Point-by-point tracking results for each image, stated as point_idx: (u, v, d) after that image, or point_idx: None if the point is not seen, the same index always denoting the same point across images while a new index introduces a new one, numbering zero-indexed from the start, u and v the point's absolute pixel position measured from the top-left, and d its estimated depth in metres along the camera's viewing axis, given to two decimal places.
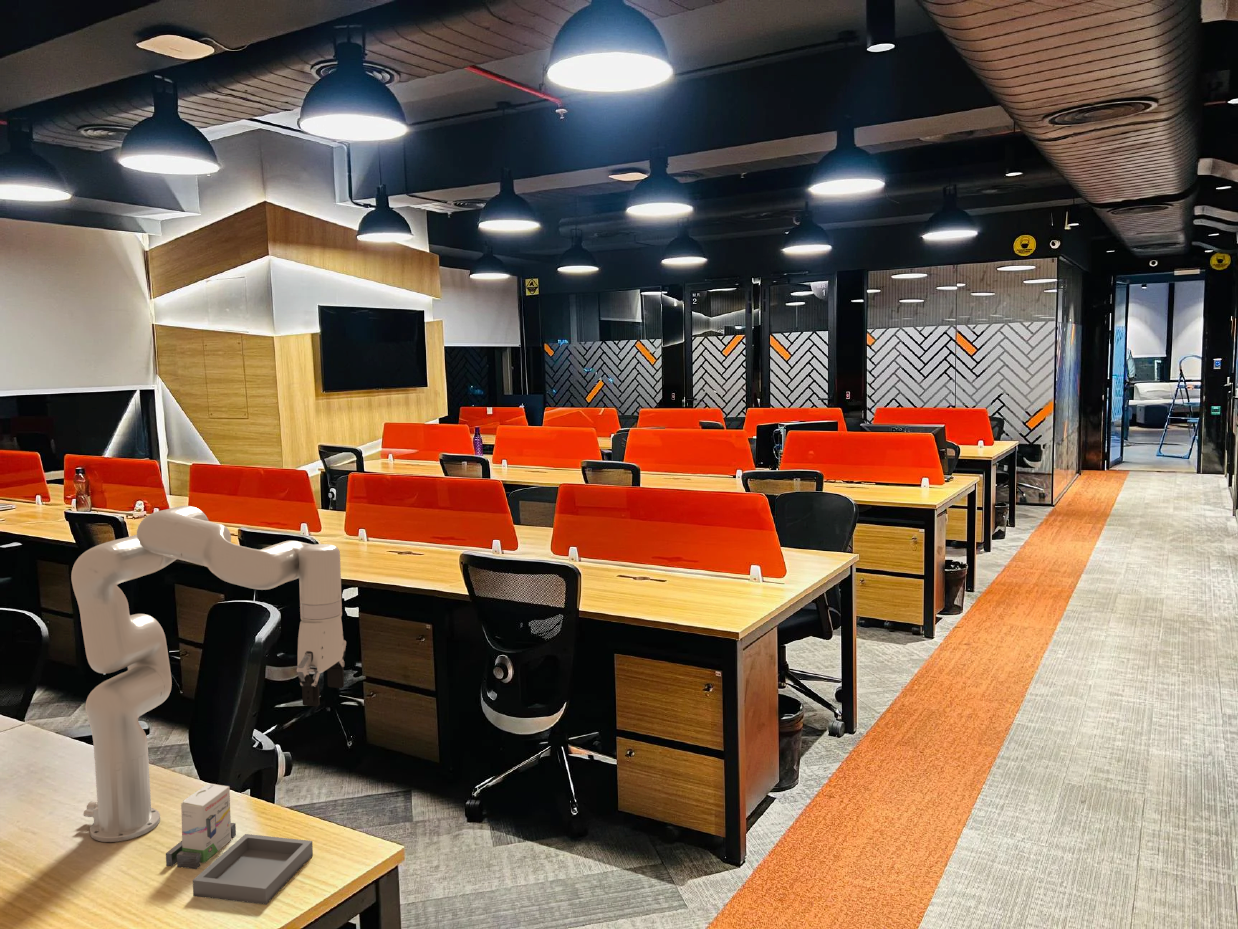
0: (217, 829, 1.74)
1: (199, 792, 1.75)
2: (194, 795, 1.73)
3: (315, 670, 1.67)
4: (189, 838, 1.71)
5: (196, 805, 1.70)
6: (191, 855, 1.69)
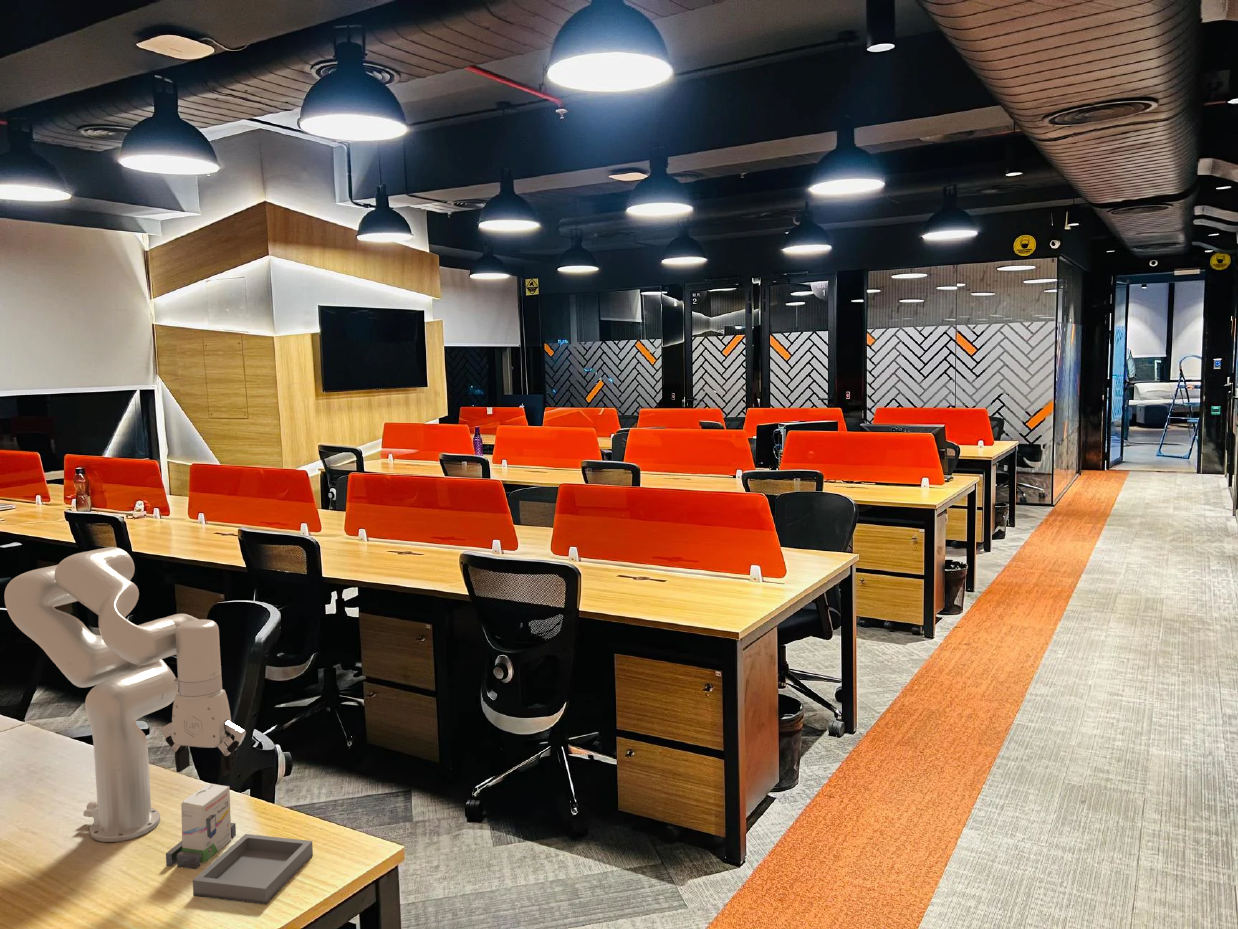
0: (217, 829, 1.74)
1: (199, 792, 1.75)
2: (194, 795, 1.73)
3: (227, 737, 1.73)
4: (189, 838, 1.71)
5: (196, 805, 1.70)
6: (191, 855, 1.69)
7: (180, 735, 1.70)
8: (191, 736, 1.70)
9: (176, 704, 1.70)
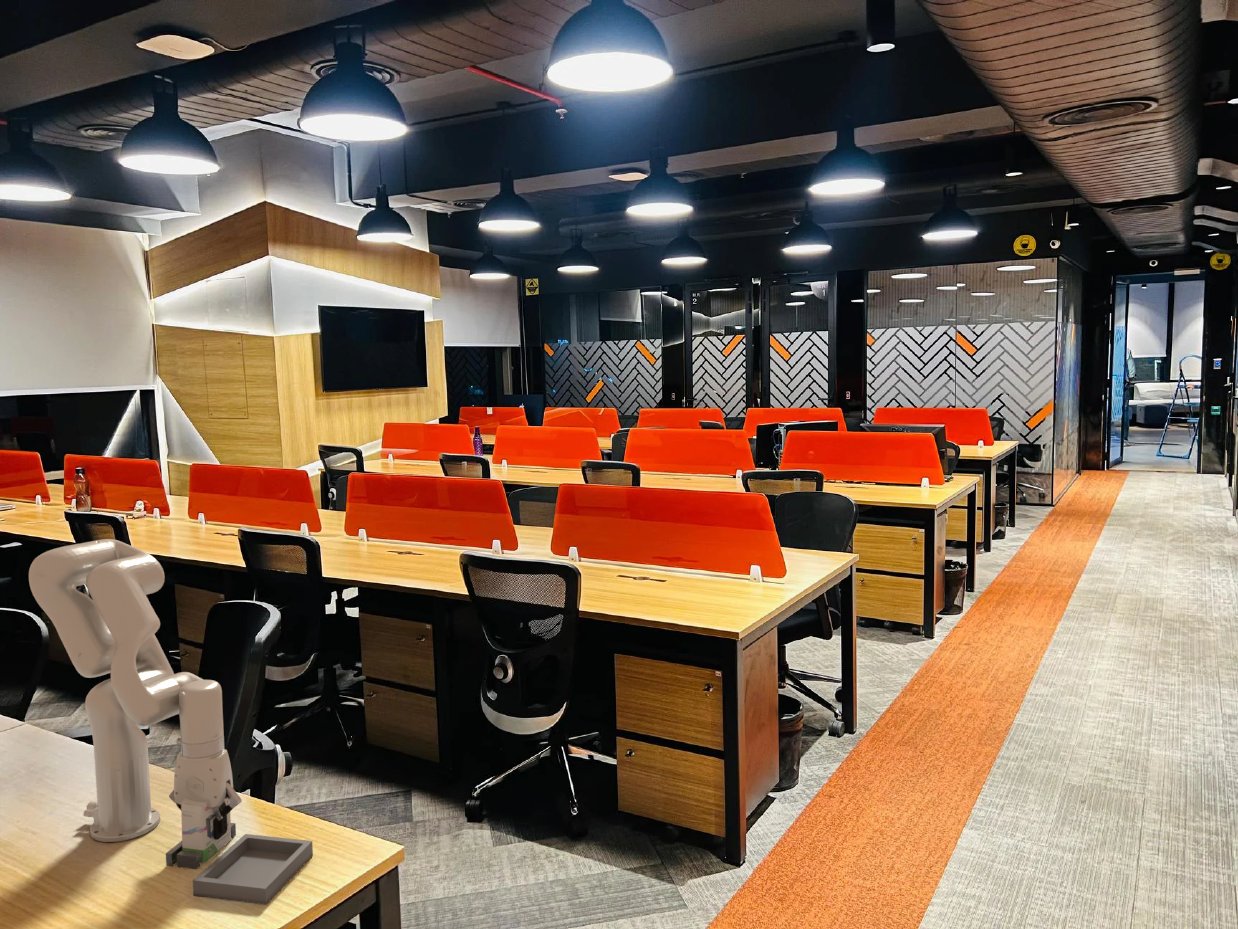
0: None
1: None
2: None
3: (224, 800, 1.74)
4: (189, 838, 1.71)
5: (196, 805, 1.70)
6: (191, 855, 1.69)
7: (182, 795, 1.72)
8: (192, 796, 1.71)
9: (178, 764, 1.71)
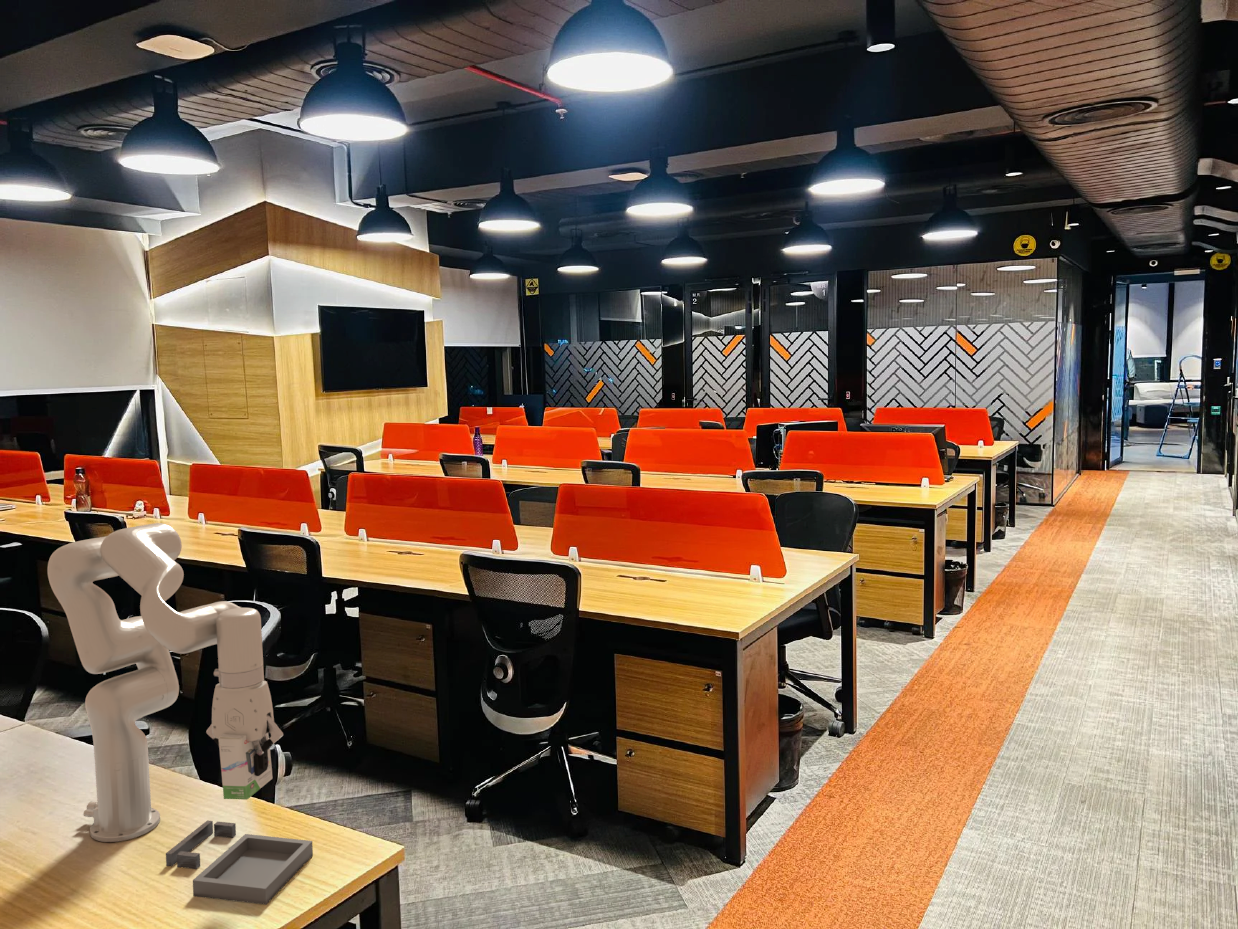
0: None
1: None
2: None
3: (265, 734, 1.65)
4: (229, 774, 1.61)
5: (234, 738, 1.61)
6: (191, 855, 1.69)
7: (220, 728, 1.62)
8: (232, 729, 1.62)
9: (216, 696, 1.62)
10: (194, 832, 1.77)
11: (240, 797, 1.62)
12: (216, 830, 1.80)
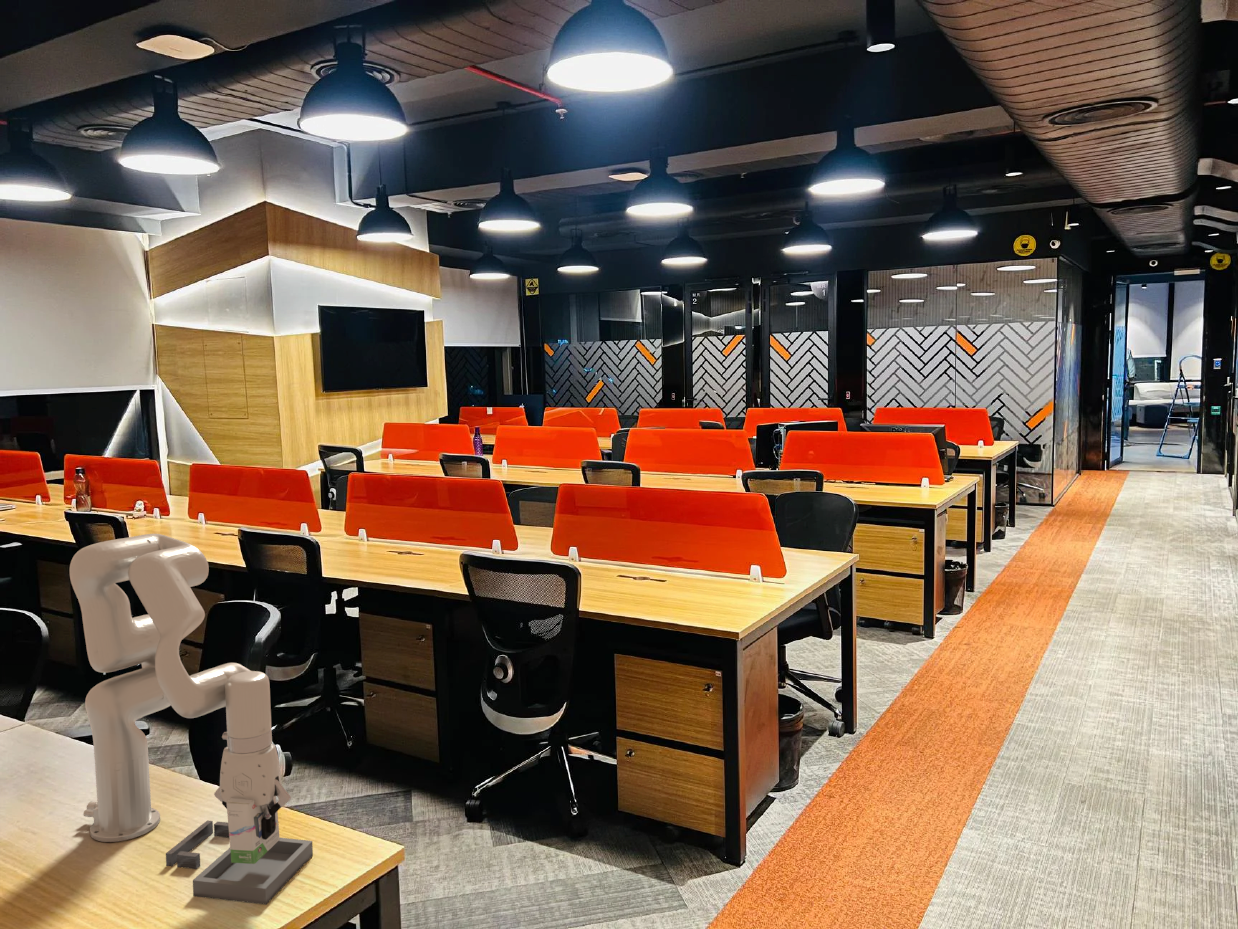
0: None
1: None
2: None
3: (272, 798, 1.66)
4: (237, 839, 1.62)
5: (242, 803, 1.61)
6: (191, 855, 1.69)
7: (228, 792, 1.63)
8: (240, 794, 1.62)
9: (225, 760, 1.63)
10: (194, 832, 1.77)
11: (248, 861, 1.62)
12: (216, 830, 1.80)
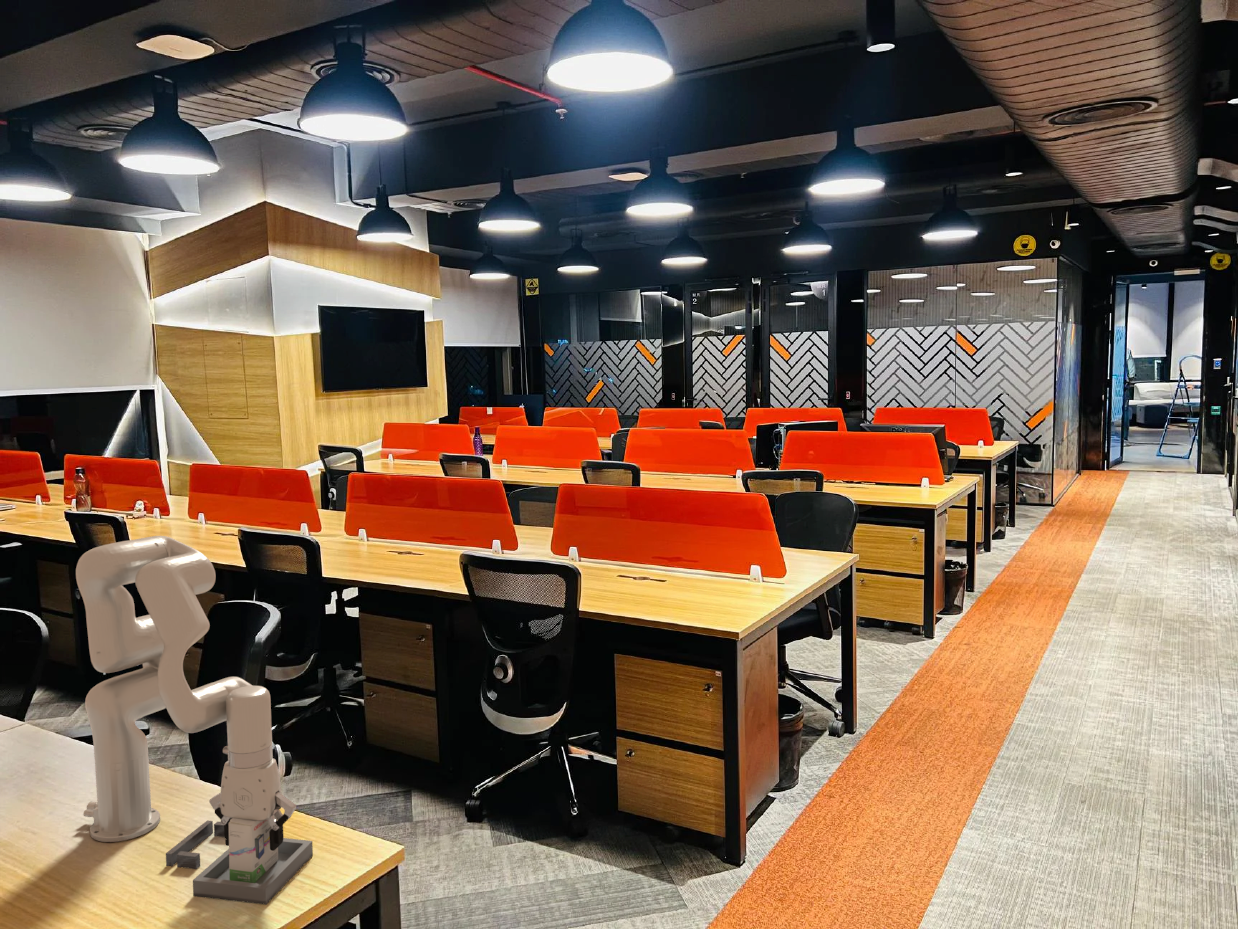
0: (265, 849, 1.66)
1: None
2: None
3: (277, 809, 1.66)
4: (236, 859, 1.62)
5: (244, 824, 1.62)
6: (191, 855, 1.69)
7: (229, 807, 1.63)
8: (240, 808, 1.63)
9: (225, 775, 1.63)
10: (194, 832, 1.77)
11: None
12: (216, 830, 1.80)
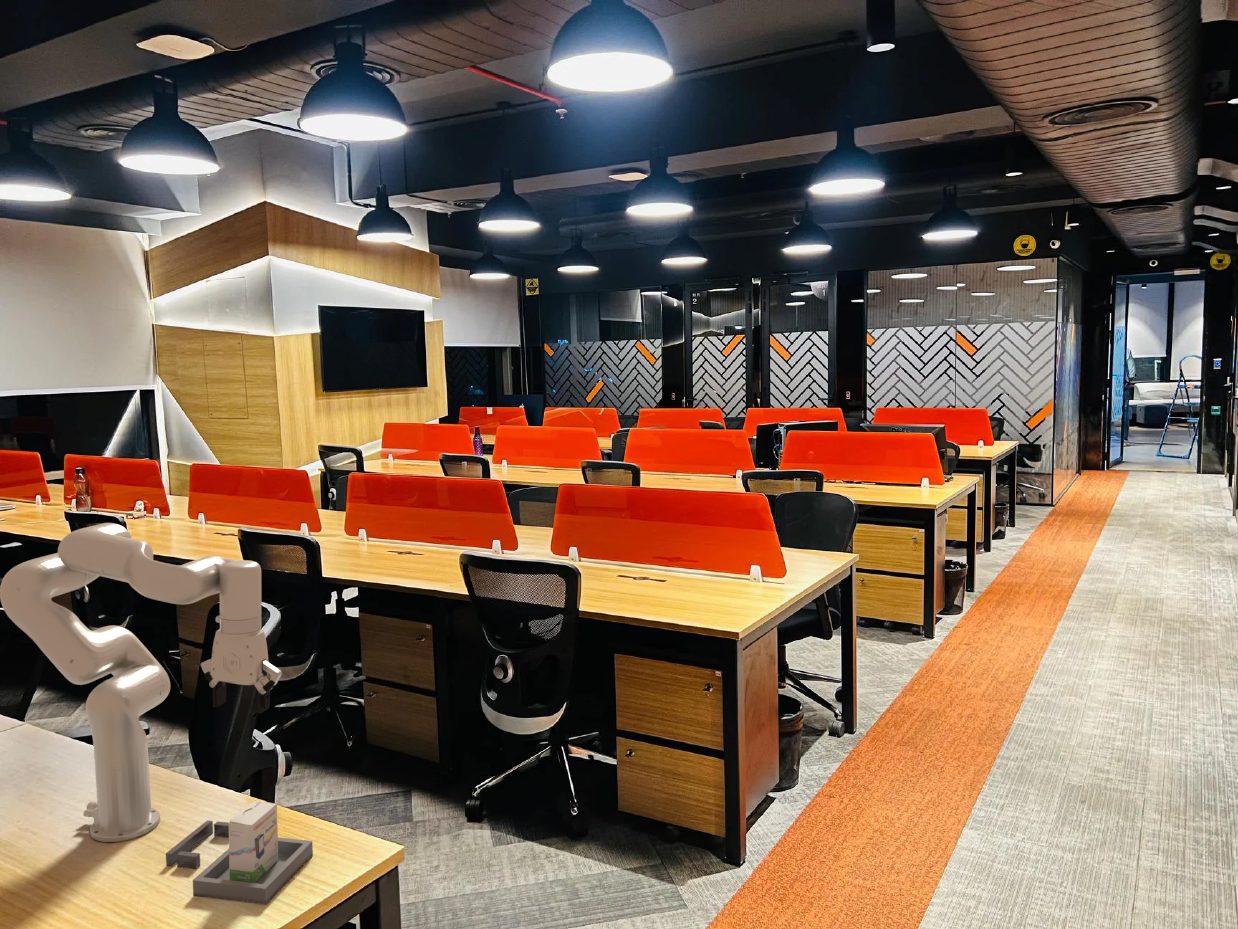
0: (265, 849, 1.66)
1: (246, 810, 1.66)
2: (241, 814, 1.65)
3: (264, 676, 1.77)
4: (236, 859, 1.62)
5: (244, 824, 1.62)
6: (191, 855, 1.69)
7: (219, 671, 1.74)
8: (229, 672, 1.74)
9: (216, 640, 1.74)
10: (194, 832, 1.77)
11: None
12: (216, 830, 1.80)
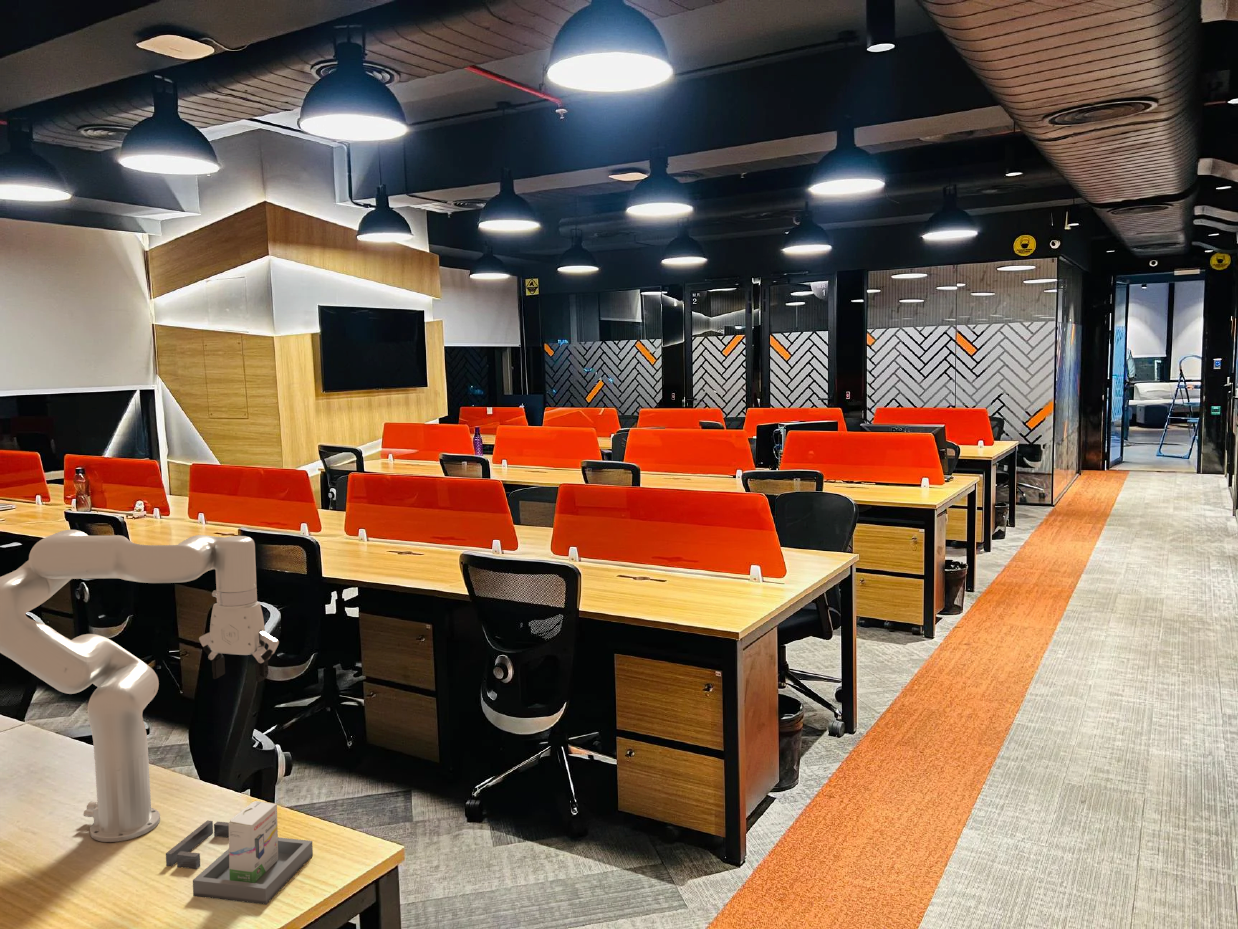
0: (265, 849, 1.66)
1: (246, 810, 1.66)
2: (241, 814, 1.65)
3: (261, 646, 1.84)
4: (236, 859, 1.62)
5: (244, 824, 1.62)
6: (191, 855, 1.69)
7: (217, 643, 1.81)
8: (228, 644, 1.81)
9: (214, 614, 1.81)
10: (194, 832, 1.77)
11: None
12: (216, 830, 1.80)
